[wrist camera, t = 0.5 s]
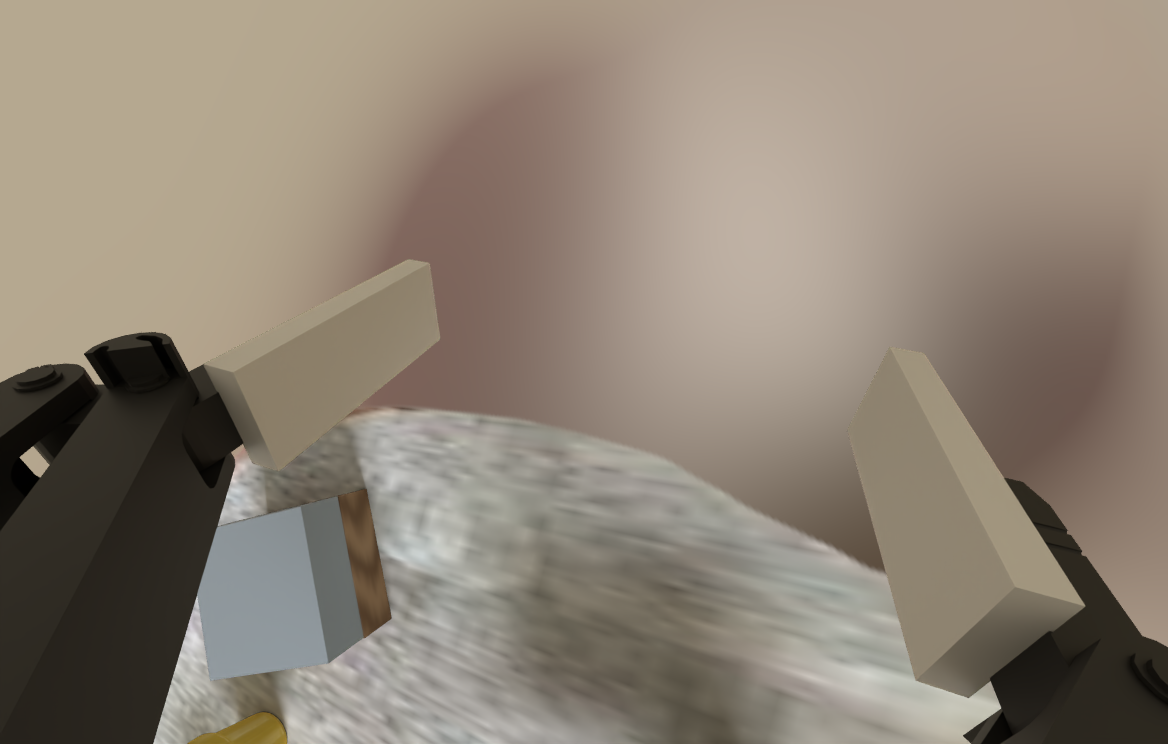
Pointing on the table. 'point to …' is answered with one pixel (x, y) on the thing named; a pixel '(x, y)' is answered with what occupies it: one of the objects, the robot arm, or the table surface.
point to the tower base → (364, 560)
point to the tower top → (278, 592)
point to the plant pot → (248, 732)
